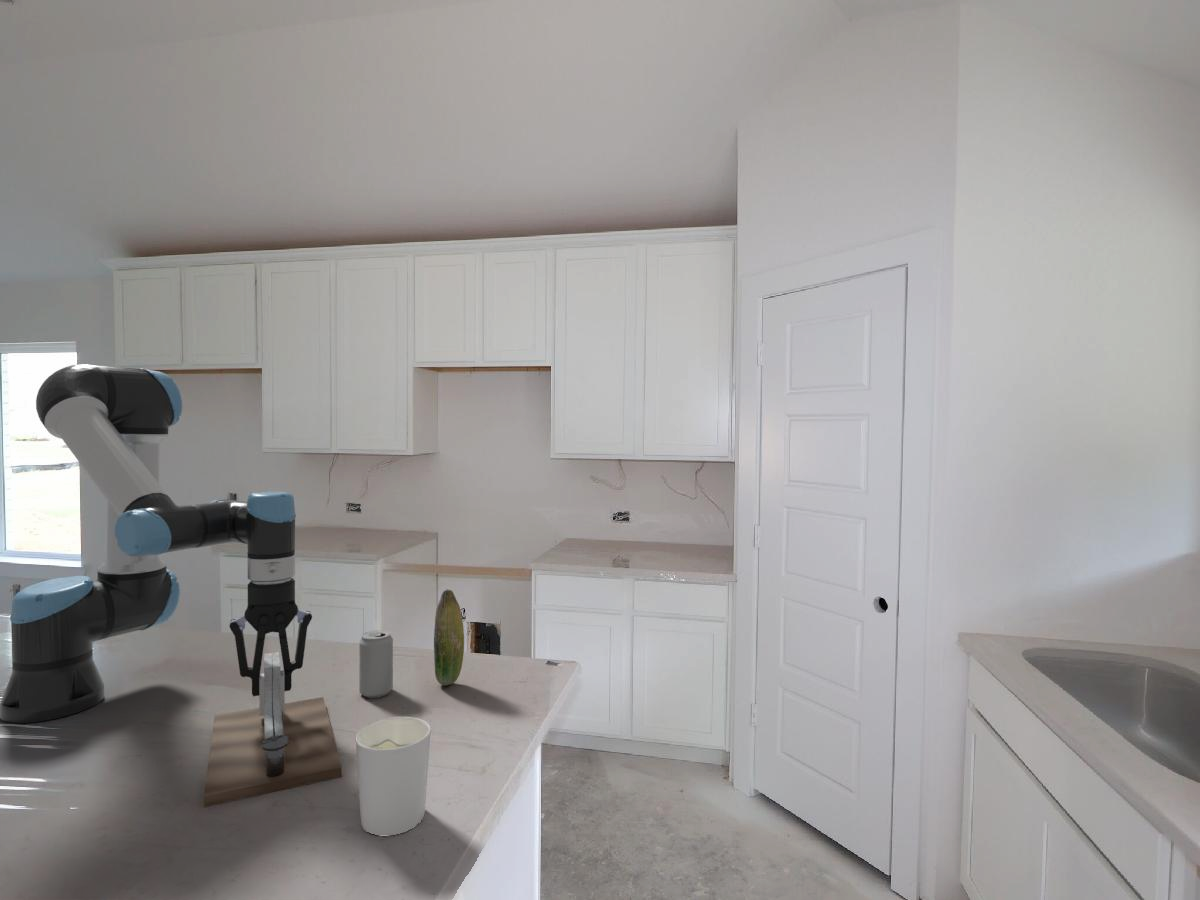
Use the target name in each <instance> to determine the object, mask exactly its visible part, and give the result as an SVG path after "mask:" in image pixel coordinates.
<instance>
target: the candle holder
mask: <svg viewBox="0 0 1200 900" xmlns="http://www.w3.org/2000/svg"><path fill="white" fill-rule="evenodd" d="M431 733H432V728H431V726H430V724H429V723H428V722H427V721H426V720H424V719H421V718H418V717H412V716H394V717H388V718H383V719H379V720H378V719H377V720H376V721H373V722H371V723H368V724H367V725H365V726H363V727H362V728H361V729H359V731H358V732H357V733H356V735H355V746H356V761H357V762H356V763H357V780H358V795H359V796H358V797H359V799H358V800H359V813H360V823H361V827H362V828H363V830H364V832H366V833H367V832H369V833H371V834H375V835H395V836H397V835H396V834H399V833H402V832H405V831H407V830H409V829H411V828H413V827H414V826H416V825H417V824H418V823H419V824H421V822H422V821H423V819H424V816H425V811H426V801H427V790H428V789H427V786H428V773H429V772H428V771H429V757H430V756H429V755H430V743H431V741H430V740H431ZM421 820H422V821H421ZM419 824H418V825H419ZM418 825H417V826H418ZM417 826H416V827H417ZM413 829H414V828H413ZM369 833H368V834H369ZM405 833H406V832H405ZM371 834H370V835H371ZM375 835H374V836H375ZM399 835H400V834H399Z"/></svg>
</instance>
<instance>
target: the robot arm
mask: <svg viewBox="0 0 1200 900" xmlns="http://www.w3.org/2000/svg"><path fill="white" fill-rule="evenodd" d="M35 408H36V413H37V416H38V418H39V421H40V422H41V424H42V425H43V427H44V428H45V429H46V431H47V432H48V433H49V434H50V435H52V436H53V437H55V438H58V439H61V440H63V442H64V444H65V445H66V446H67V447H68V449H69V450H70V452H71V453H72V454H73V455H74V457H75V458H76V460H77V461H78V462H79V464H80V465H81V467H82V468H83V469H84V471H85V472H86V473H87V475H88V476H89V478H90V479H91V480H92V481H93V483H94V484H95V485H96V487H97V488H98V489H99V492H100V493H101V494H102V495H103V496H104V498H105V499H106V500H107V511H106V512H107V513H106V515H107V517H106V519H107V520H106V521H107V523H106V524H107V529H106V530H107V532H106V533H107V534H106V537H107V538H106V540H107V542H106V561H104V562H103V563H102V564H101V565H100V566H99V567H98V568H97V580H92V578H91V577H90V576H87V575H70V576H66V577H57V578H52V579H48V580H44V581H41V582H37V583H34V584H31V585H29V586H27V587H24V588H22V589H21V590H19V591H18V592H17V593H16V594H15V595H14V596H13V598H12V602H11V611H10V612H11V614H10V616H9V620H10V622H11V623H10V626H11V627H10V628H11V631H10V632H11V664H12V665H11V667H12V669H11V670H12V671H11V674H10V676H9V677H10V678H9V679H8V680H9V681H7V685H6V687H5V689H4V692H3V695H2V698H1V700H0V720H1V721H3V722H8V723H14V724H24V723H38V722H44V721H45V722H46V721H50V720H54V719H55V720H56V719H59V718H64V717H68V716H71V715H73V714H78V713H80V712H83V711H86V710H87V709H90V708H92V707H93V706H96V705H97V704H98V703H100V702H102V701H103V699H104V698H105V683H104V682H103V679H102V676H101V674H100V672H99V670H98V667H97V665H96V664H95V661H94V656H93V651H94V650H93V646H94V645H93V643H94V642H97V641H101V640H106V639H109V638H113V637H116V636H121V635H125V634H129V633H133V632H136V631H145V630H148V629H150V628H152V627H156V626H158V625H162V624H164V623H166V622H167V621H168V620H169V619H170V618H171V617H172V616H173V615H174V613H175V611H176V610H177V607H178V605H179V602H180V595H181V594H180V593H181V592H180V591H181V590H180V583H179V582H178V581H177V580H178V577H177V575H176V574H175V572H174V571H172V570H170V569H168V567H167V562H166V561H164V560H163V559H162V558H160V556H159V555H162V554H166V553H171V552H177V551H183V550H190V549H195V548H197V549H198V548H203V547H211V546H216V545H223V544H224V545H225V544H230V543H231V544H232V543H235V544H246V546H247V554H246V555H247V557H246V558H247V562H246V563H247V580H249V581H250V582H249V583H247V607H246V609H245V611H244V614H243V615H242V616H239V617H238V618H233V619H231V620H229V629H230V630H231V632H232V634H233V636H234V639H235V640H234V641H235V648H236V656H237V662H238V668H239V674H240V675H239V676H240V677H242V678H245V677H247V678H250V679H251V695H252V697H258V702H259V703H258V704H259V705H258V708H259V716H261V715H264V672H263V673H261V667H262V661H263V656H264V646H265V639H266V634H270V633H278V639H279V640H278V641H279V647H280V653H281V659H282V665H283V670H280V706H281V712H285V698H286V697H285V692H288V691H291V689H292V674H293V672H294V671H296V670H298V669H299V670H300V669H302V668H303V665H304V656H305V648H306V639H307V635H308V634H307V632H308V627H309V625H310V623H311V621H312V618H313V615H312V612H311V611H310V610H306V611H305V610H302V609H299V607H298V604H297V603H296V580H295V579H294V577H295V575H296V554H295V553H296V552H295V550H296V517H297V514H296V508H295V497H294V495H293V494H291V493H290V492H287V491H259V492H253V493H250V494H249V495H248V497H247V501H243V500H241V501H240V500H235V499H229V498H227V499H215V500H210V501H209V502H207V503H198V504H186V505H177V504H176V503H175V502H174V501H173V499H171V497H170V496H169V495H168V494H167V493H166V491H165V490H164V488H163V487H162V486H161V485H160V444H161V442H162V441H163V440H164V439H165V438H167V437H168V436H169V427H172V426H174V425H176V424H177V423H178V422H179V420H180V417H181V415H182V412H183V399H182V395H181V392H180V390H179V387H178V386H177V384H176V382H174V380H173V378H171V376H170V375H168V374H167V373H164V372H163V371H159V370H153V369H147V368H140V367H139V368H133V367H122V366H121V367H119V366H107V365H95V364H86V363H81V364H80V363H78V364H72V365H68V366H65V367H62V368H61V369H58V370H56V371H55V372H53V373H52V374H50V376H48V377H47V378H46V379H45V380H44V381H43V383H42V384H41V385H40V387H39V389H38V391H37V395H36V398H35ZM295 617H297V618H296V620H297V623H298V630H297V631H298V632H297V639H296V647H295V655H294V660H291V657H290V649H289V643H288V637H287V628H288V627H289V625H290V624H291V623H292V621H293V619H295ZM246 622H248V624H249V625H250V626H251V627H252V628H253V629H254V630H255V631H256V639H255V648H254V654H253V661H252V667H250V666H249V664H248V659H247V658H248V657H247V649H246V645H245V644H246V643H245V642H246V641H245V636H244V630H245V628H246Z"/></svg>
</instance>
